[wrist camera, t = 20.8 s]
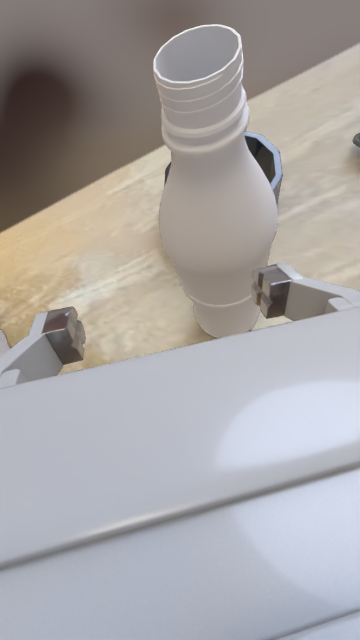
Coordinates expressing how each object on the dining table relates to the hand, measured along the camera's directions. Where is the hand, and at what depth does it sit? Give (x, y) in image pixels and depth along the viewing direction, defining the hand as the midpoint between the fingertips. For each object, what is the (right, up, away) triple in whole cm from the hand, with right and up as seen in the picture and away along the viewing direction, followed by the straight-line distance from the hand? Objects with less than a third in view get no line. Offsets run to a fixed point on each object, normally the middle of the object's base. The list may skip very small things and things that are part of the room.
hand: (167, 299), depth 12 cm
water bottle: (+6, 0, +20) cm, 21 cm away
